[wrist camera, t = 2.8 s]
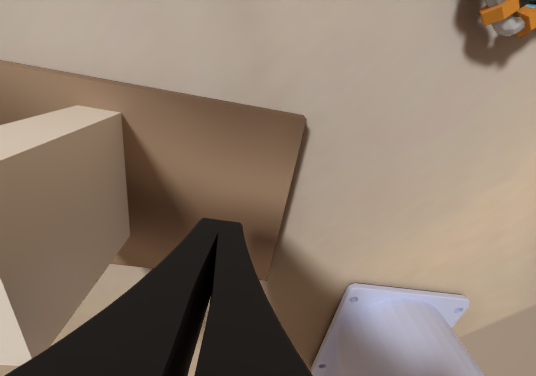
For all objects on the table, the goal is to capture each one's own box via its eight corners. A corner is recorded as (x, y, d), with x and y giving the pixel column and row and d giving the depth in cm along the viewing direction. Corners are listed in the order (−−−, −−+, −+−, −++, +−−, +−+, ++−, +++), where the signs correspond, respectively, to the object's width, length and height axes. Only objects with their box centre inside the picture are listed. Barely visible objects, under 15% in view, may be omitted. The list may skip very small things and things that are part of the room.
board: (266, 270, 15) (267, 280, 14) (-127, 225, 13) (-150, 235, 12) (303, 115, 11) (306, 119, 10) (-257, 13, 9) (-303, 9, 8)
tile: (130, 235, 13) (34, 367, 7) (94, 231, 12) (-30, 362, 7) (121, 112, 10) (-40, 176, 5) (76, 104, 10) (-146, 161, 4)
